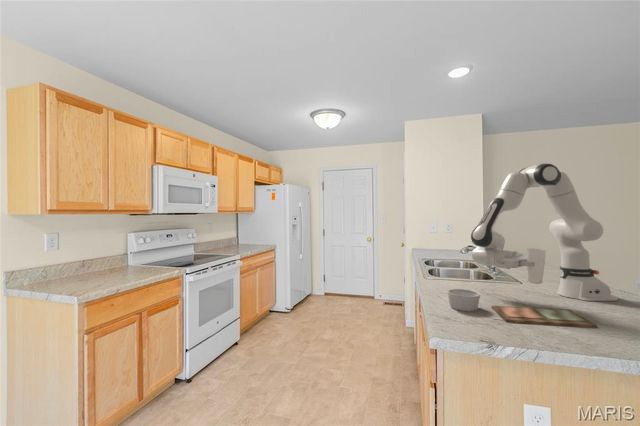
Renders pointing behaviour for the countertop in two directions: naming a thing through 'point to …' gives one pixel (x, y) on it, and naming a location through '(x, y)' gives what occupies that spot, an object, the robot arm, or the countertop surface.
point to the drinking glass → (536, 265)
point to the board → (542, 316)
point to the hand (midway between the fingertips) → (538, 263)
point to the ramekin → (463, 299)
